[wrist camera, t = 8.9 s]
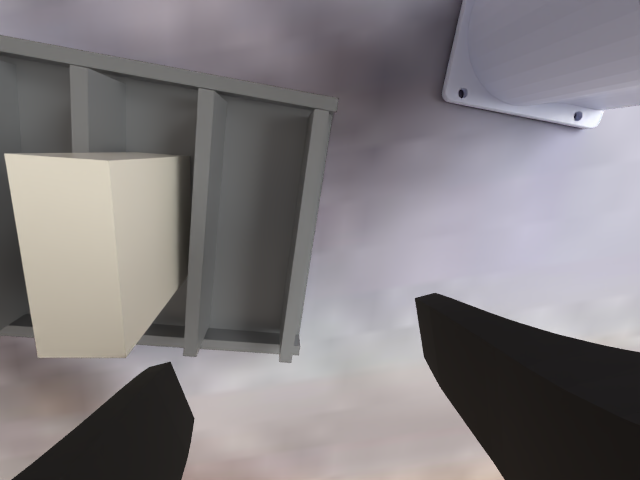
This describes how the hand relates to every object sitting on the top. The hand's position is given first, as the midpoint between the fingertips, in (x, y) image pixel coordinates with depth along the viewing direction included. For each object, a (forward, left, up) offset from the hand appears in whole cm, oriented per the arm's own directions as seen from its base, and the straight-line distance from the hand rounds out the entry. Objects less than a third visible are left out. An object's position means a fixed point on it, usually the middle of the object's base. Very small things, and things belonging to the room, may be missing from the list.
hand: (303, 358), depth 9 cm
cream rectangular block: (+7, -2, -9) cm, 12 cm away
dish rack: (+7, -1, -10) cm, 12 cm away
